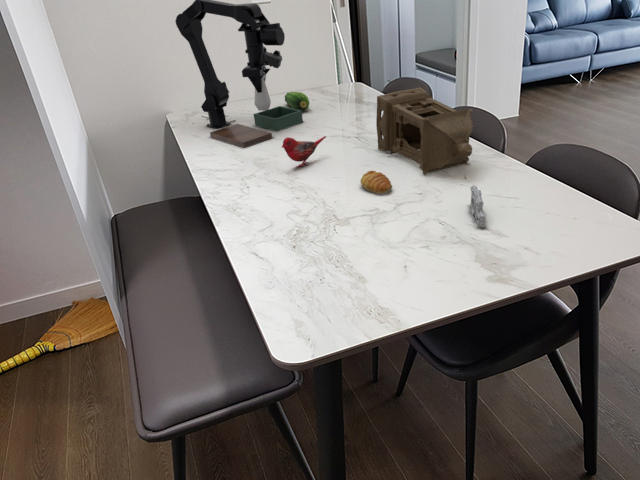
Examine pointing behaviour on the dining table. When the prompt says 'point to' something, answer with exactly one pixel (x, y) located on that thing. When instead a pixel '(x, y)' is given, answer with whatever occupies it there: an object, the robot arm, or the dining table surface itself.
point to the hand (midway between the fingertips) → (261, 92)
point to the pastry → (376, 182)
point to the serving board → (241, 135)
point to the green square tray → (278, 118)
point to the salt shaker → (262, 97)
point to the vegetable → (297, 100)
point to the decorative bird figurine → (299, 149)
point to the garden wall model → (477, 206)
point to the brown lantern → (423, 129)
